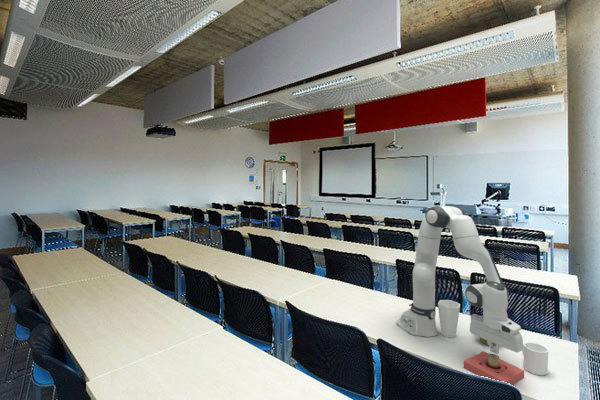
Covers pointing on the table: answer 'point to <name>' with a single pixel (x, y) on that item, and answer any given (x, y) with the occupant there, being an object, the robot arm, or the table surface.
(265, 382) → the table surface
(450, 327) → the cup
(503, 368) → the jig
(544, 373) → the mug
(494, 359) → the tan cylinder plug
